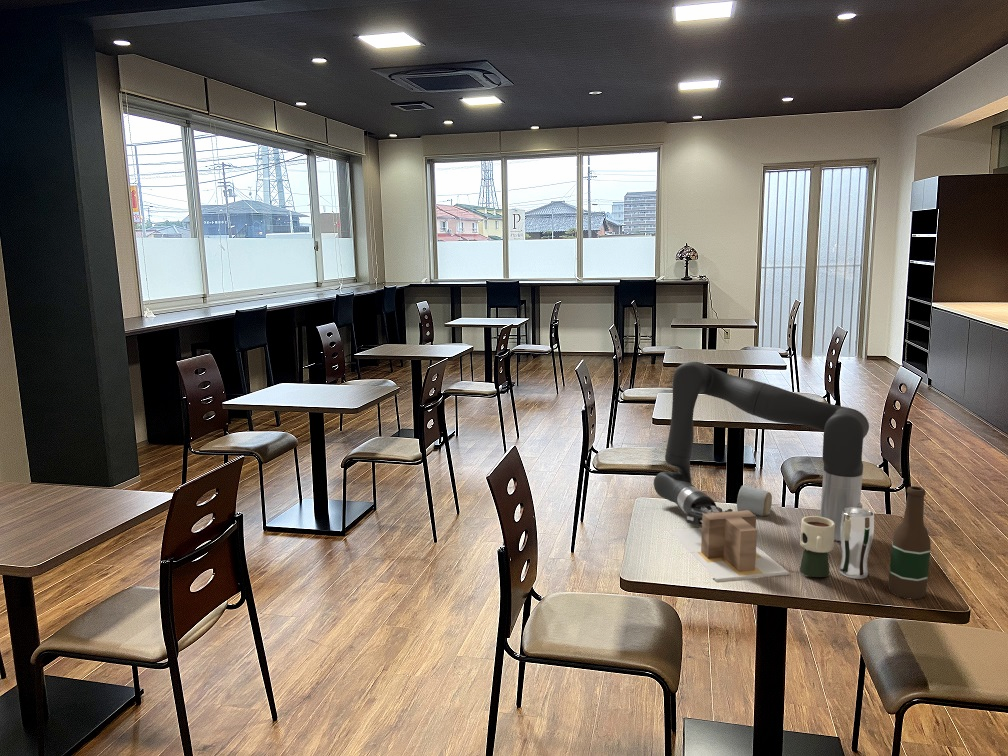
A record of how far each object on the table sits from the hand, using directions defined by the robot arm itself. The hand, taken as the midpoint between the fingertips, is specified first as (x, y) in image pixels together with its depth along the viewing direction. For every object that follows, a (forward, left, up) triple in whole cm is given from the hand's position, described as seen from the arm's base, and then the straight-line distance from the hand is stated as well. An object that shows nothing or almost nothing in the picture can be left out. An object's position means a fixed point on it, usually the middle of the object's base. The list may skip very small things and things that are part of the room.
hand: (725, 528), depth 189 cm
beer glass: (-28, +7, -7) cm, 30 cm away
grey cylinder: (-11, -30, -7) cm, 32 cm away
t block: (-2, +6, -6) cm, 8 cm away
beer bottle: (-37, +15, -7) cm, 41 cm away
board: (0, 0, -6) cm, 6 cm away
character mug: (-19, +9, -7) cm, 22 cm away
